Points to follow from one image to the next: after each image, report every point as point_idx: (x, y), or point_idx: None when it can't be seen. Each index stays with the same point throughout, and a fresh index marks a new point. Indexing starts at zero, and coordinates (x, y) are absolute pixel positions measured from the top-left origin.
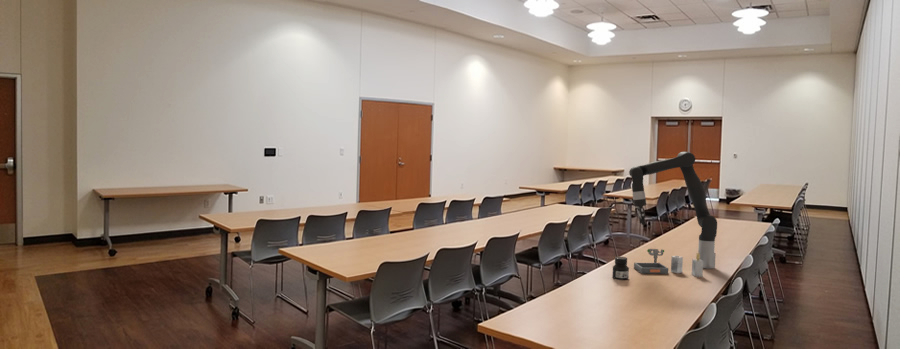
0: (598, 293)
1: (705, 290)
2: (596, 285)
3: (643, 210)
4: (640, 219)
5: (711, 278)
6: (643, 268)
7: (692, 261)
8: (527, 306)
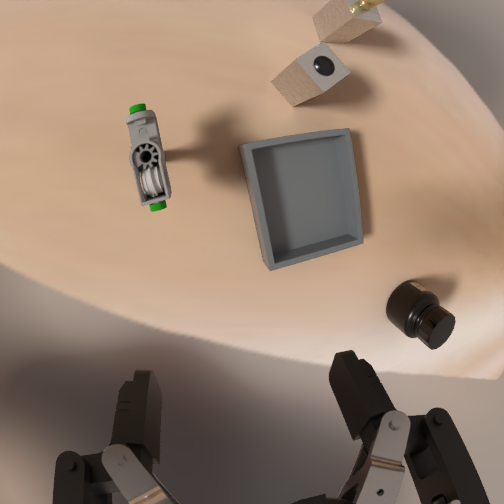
0: (474, 323)
1: (466, 95)
2: None
3: (476, 493)
4: (157, 435)
5: None
6: (362, 235)
7: (348, 22)
8: (481, 376)
